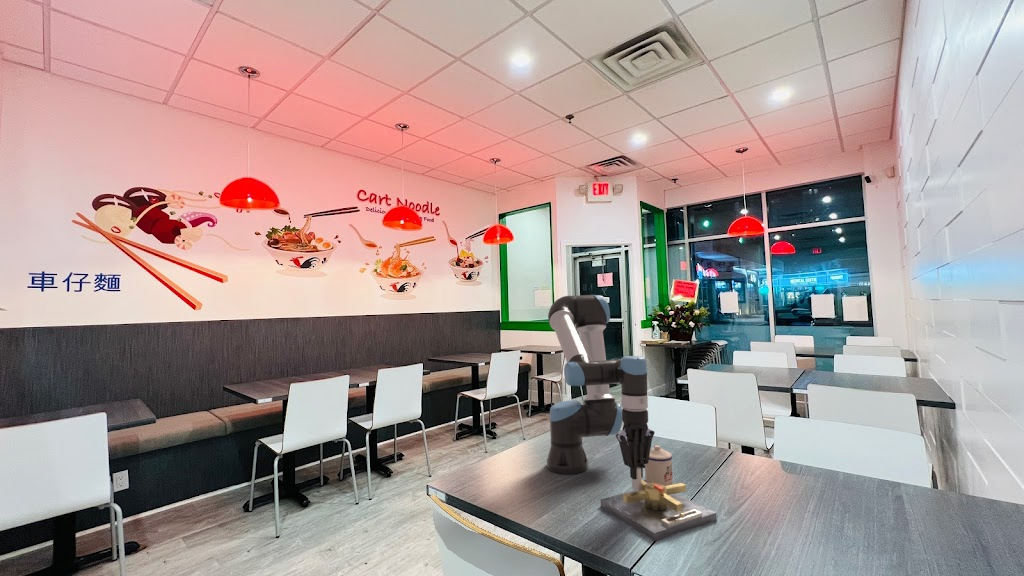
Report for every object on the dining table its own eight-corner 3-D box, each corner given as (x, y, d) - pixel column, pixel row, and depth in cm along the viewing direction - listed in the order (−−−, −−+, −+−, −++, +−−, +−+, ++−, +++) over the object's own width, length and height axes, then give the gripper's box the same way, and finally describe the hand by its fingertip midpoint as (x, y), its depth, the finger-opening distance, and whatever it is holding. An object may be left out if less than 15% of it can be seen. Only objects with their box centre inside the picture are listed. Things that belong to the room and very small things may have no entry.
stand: (600, 506, 127) (600, 493, 128) (657, 490, 137) (656, 478, 137) (654, 541, 108) (654, 526, 108) (716, 520, 117) (715, 506, 117)
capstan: (606, 497, 129) (605, 477, 129) (662, 486, 135) (661, 467, 135) (647, 528, 110) (646, 505, 110) (710, 514, 116) (709, 491, 116)
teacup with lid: (670, 489, 138) (668, 452, 138) (641, 484, 143) (640, 448, 143) (677, 476, 148) (675, 441, 149) (650, 471, 153) (648, 438, 153)
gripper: (625, 413, 123) (628, 498, 122) (660, 409, 129) (662, 490, 127) (609, 408, 130) (611, 488, 129) (642, 404, 136) (644, 481, 134)
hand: (636, 489), depth 128 cm, fingers closed
